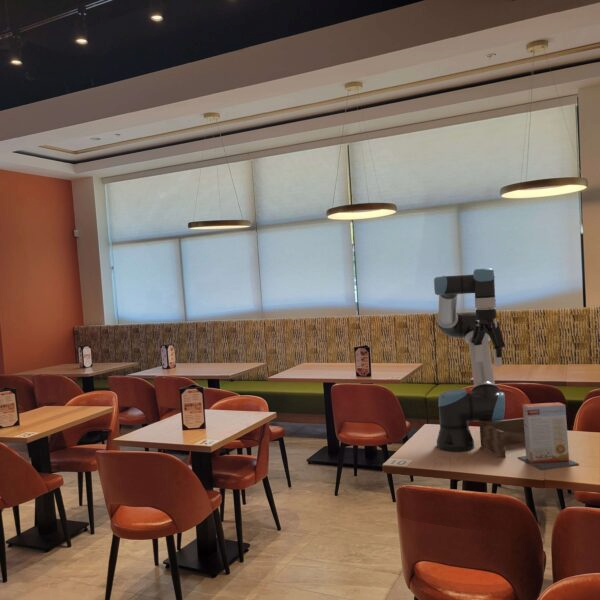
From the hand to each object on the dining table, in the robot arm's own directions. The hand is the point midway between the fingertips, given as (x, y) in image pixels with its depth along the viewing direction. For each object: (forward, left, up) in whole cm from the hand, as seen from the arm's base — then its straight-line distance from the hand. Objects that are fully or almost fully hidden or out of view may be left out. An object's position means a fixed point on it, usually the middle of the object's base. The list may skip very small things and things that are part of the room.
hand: (488, 363), depth 221 cm
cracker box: (+11, +15, -36) cm, 41 cm away
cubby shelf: (-7, +17, -37) cm, 41 cm away
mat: (+11, +16, -37) cm, 41 cm away
